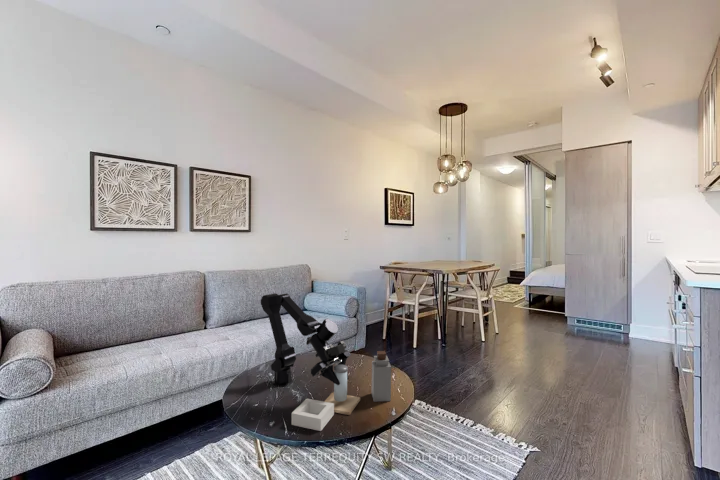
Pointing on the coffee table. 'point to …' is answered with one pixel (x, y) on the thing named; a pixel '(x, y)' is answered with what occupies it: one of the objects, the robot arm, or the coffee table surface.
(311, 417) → the box
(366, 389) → the coffee table surface
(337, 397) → the cylinder
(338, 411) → the board
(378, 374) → the perfume bottle
